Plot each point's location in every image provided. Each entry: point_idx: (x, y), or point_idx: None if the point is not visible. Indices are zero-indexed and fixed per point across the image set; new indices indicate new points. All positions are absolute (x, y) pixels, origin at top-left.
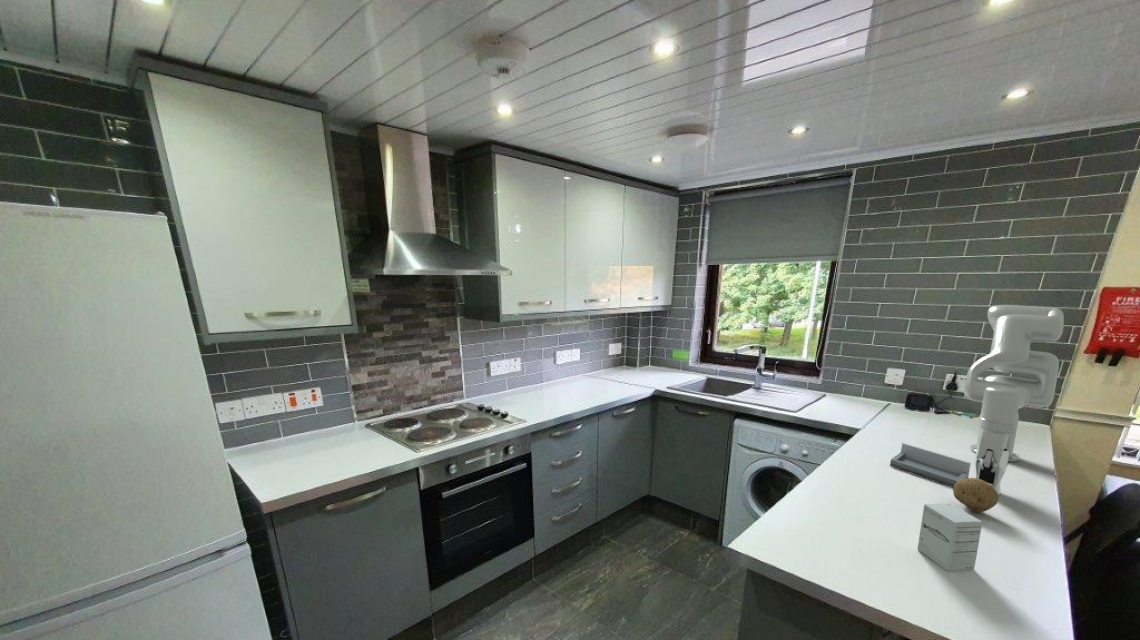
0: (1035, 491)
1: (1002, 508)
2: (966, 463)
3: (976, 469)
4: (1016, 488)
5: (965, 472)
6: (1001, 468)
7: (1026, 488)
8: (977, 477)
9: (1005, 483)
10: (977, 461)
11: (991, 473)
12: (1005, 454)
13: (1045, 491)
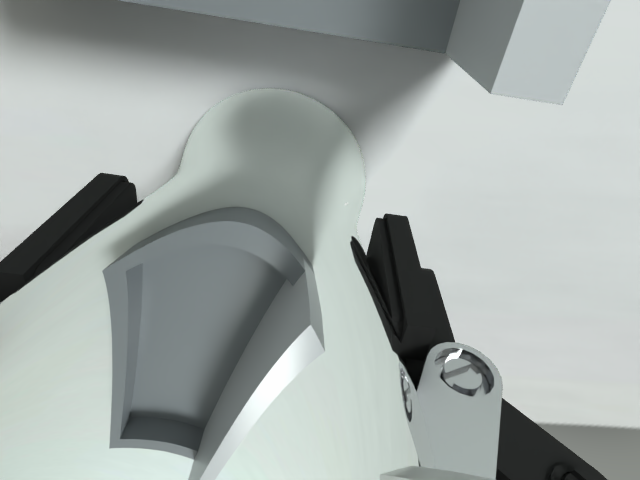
0: (536, 388)
1: (9, 249)
2: (503, 36)
3: (171, 186)
4: (513, 325)
5: (442, 19)
6: None
7: (559, 363)
8: (201, 156)
9: (576, 283)
10: (11, 294)
11: None
12: None
13: (576, 418)
